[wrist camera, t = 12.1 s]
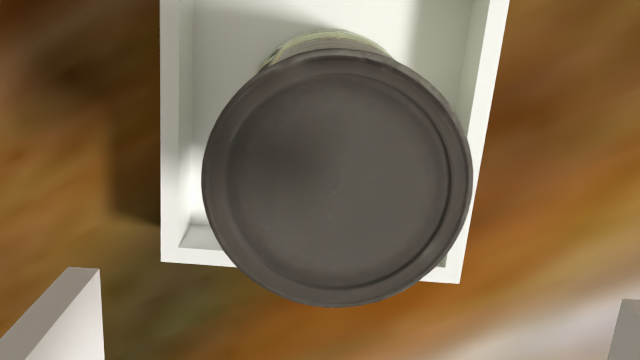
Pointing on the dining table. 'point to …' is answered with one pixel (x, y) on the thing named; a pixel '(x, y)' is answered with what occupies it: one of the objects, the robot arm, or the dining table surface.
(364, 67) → the coffee can
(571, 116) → the dining table surface
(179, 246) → the bin
